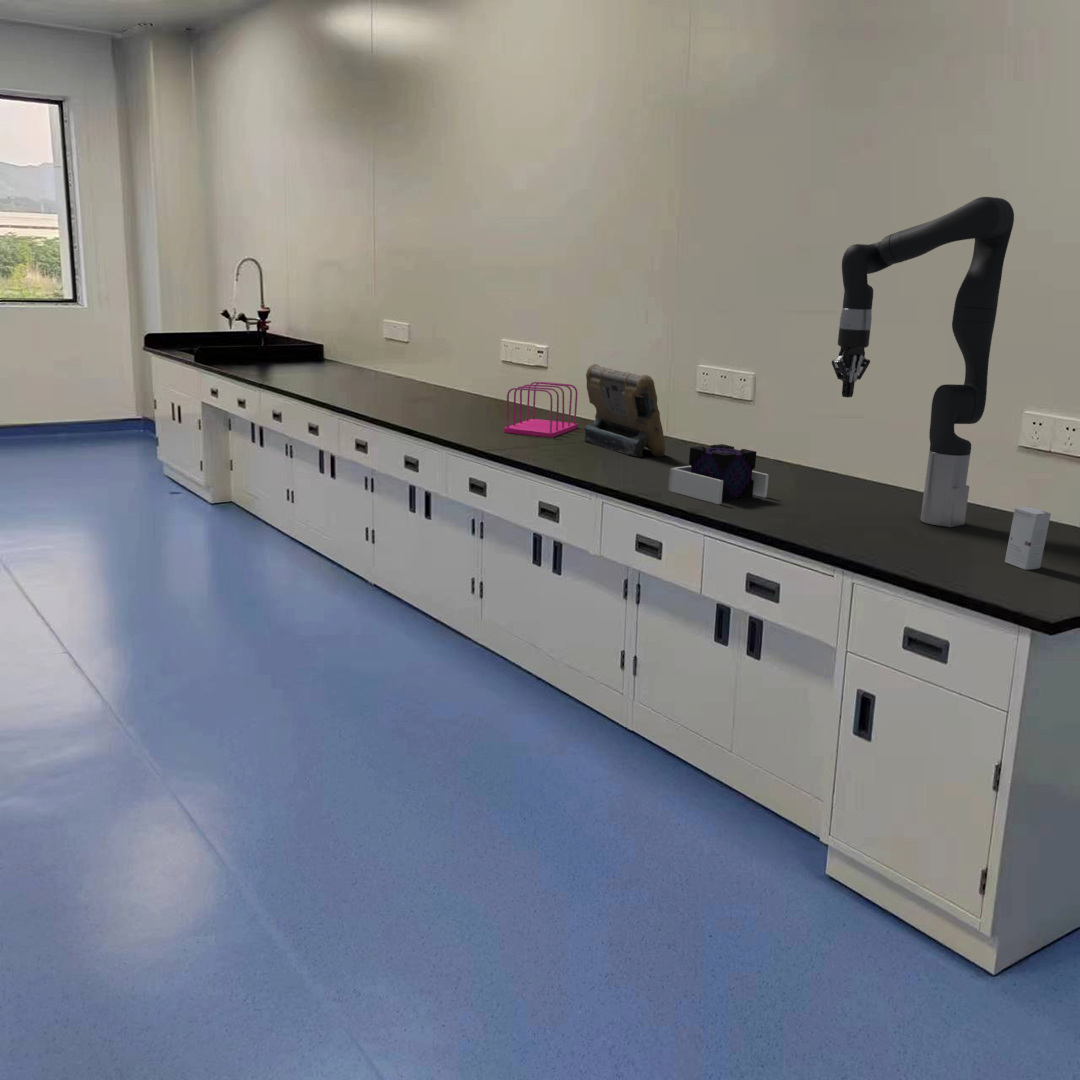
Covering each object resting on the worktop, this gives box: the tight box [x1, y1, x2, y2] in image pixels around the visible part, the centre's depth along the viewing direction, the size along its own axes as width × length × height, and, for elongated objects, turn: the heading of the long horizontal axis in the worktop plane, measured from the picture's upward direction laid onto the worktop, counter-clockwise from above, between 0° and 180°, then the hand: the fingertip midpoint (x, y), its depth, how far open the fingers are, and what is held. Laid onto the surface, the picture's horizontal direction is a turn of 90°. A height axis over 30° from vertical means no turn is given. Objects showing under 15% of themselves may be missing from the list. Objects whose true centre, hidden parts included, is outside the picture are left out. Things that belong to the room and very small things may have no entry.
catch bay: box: [667, 465, 770, 505], centre depth 291 cm, size 18×18×6 cm
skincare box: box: [1004, 505, 1052, 571], centre depth 233 cm, size 6×4×12 cm
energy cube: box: [688, 443, 757, 502], centre depth 289 cm, size 12×12×12 cm
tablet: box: [584, 363, 666, 458], centre depth 349 cm, size 33×14×25 cm, turn 35°
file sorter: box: [503, 381, 579, 439], centre depth 378 cm, size 17×25×16 cm
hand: (847, 396), depth 282 cm, fingers closed
